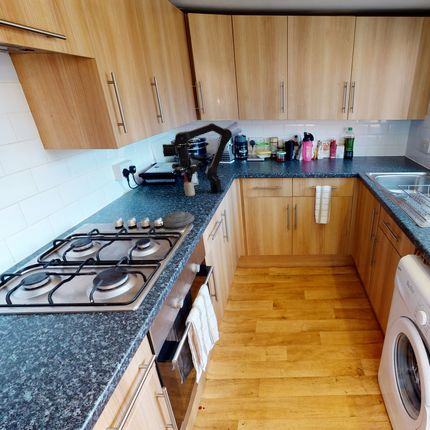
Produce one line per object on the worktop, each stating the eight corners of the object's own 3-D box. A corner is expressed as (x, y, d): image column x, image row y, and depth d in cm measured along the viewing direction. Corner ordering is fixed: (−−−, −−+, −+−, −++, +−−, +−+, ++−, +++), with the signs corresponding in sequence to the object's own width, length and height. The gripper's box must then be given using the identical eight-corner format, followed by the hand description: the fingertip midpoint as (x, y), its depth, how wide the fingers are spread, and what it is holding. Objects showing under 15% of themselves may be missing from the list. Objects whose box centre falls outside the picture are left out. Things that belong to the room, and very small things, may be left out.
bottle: (197, 194, 173) (194, 175, 168) (189, 196, 169) (186, 178, 164) (191, 192, 176) (188, 174, 171) (183, 194, 172) (180, 176, 167)
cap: (187, 182, 167) (186, 176, 165) (183, 180, 169) (182, 175, 167) (192, 180, 169) (191, 174, 168) (188, 179, 171) (188, 173, 170)
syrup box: (191, 186, 186) (188, 164, 181) (186, 184, 190) (182, 163, 184) (199, 184, 191) (195, 162, 185) (193, 182, 194) (190, 161, 188)
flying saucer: (156, 230, 128) (154, 219, 126) (167, 217, 142) (165, 207, 140) (191, 229, 129) (189, 218, 127) (197, 215, 143) (196, 205, 141)
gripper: (205, 154, 164) (208, 181, 170) (185, 151, 174) (189, 176, 180) (189, 158, 156) (193, 185, 162) (169, 154, 166) (173, 180, 172)
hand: (187, 181), depth 169 cm, fingers open, 4 cm apart
